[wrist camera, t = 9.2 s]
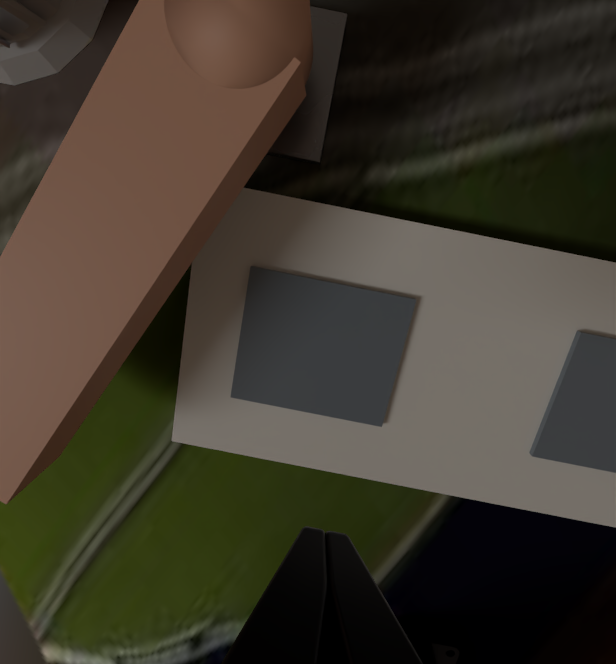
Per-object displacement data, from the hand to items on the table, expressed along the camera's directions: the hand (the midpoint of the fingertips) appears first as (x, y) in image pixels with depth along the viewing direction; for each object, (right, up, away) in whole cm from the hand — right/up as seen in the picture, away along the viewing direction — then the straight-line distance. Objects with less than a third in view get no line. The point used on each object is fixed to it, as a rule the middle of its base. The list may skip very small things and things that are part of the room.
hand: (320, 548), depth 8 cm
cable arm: (-6, +7, +7) cm, 12 cm away
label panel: (+7, +2, +11) cm, 14 cm away
